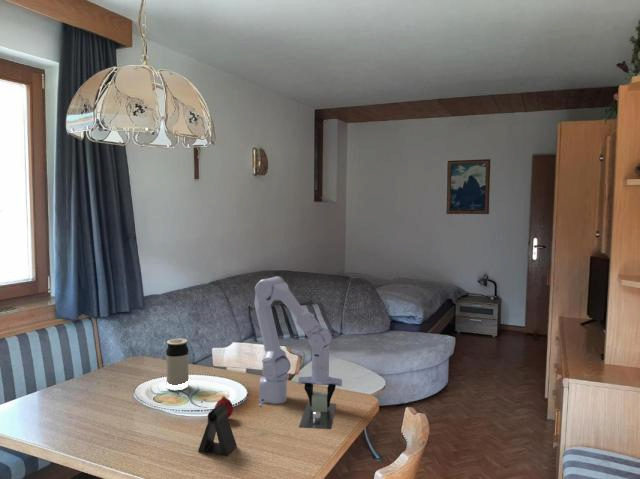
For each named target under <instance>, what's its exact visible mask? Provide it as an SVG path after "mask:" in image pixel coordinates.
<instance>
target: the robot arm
mask: <svg viewBox="0 0 640 479" xmlns="http://www.w3.org/2000/svg"><path fill="white" fill-rule="evenodd" d="M254 293H255V295H254V301H253V303H254V309H255V313H256V318H257V321H258V326H259V330H260V334H261V339H262V345H263V348H264V352H265V353H264V355H263V357H262V359H261V362H262V369H261V371H262V372H261V373H262V375H263V376H264V377H263V376H262V377H260V380H259V386H258V387H259V389H258V394H259V395H258V397H259V398H258V400H259V401H258V407H262V406H263V404H264V403H267V404H274V405H276V404H277V405H279V404H283V403H285V402H287V401H288V392H287V391H288V373H289V371H290V370H291V366H292V365H291V361H290V360H289V358H288V356H287V353H286V351H284V349H282V348H281V344H280V339H279V337H278V336H279V335H278V332H277V327H276V322H275V319H274V314H273V313H274V312H273V310H272V304H273V302H275V300H276V301H280V302H282V303H283V304H284V306H286V308H287V310H289V311H290V312H291V313H292V315H294V316H295V317H296V324H297V325H298V326H299V328H300V329H301V330H302V331H303V333H304V334H305V336H307V338H308V344H309V346H310V348H311V376H310V375H309V376H299V377H298V383H297V384H298V385H301V386H302V385H304V391H305V392H306V395H307V397H308V400H309V401H308V402H310V406H312V395H313V392H314V385H317V386H327V389H326V390H327V392H328V401H327V407H329V406H330V403H331V399H332V396H333V395H334V392H335V390H336V386H338V387H342V386H343V378H337V377H331V376H330V344H331V343H332V340H333V336H332V333H331V331H330V329H328V328H327V327H323V325H322V324H320V323H319V322H318V321H317V319H316V318H315V315H314V313H311V312H310V311H305V310H304V308H303V307H302V305H300V303H299V301H298V300H297V299H296V297H295V296H294V295H293V293H292V291H291V290H290V288H289V285H288V283H287V282H285V280H284V278H283V277H281V276H279V275H278V276H277V275H276V276H273V277H269V278H262V279H260V280H259V281H258V282H257V283H256V285H255V286H254Z"/></svg>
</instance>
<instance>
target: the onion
mask: <svg viewBox="0 0 640 479" xmlns="http://www.w3.org/2000/svg"><path fill="white" fill-rule="evenodd" d="M232 403H233V402H231V400H230V399H228V398H227V397H226V396H225V395H222V396H221V398H219V400H218V401H217V402H216V403H215V406H214V408H215V407H217V406H218V405H219V404H221V405H220V406H219V407H221V406H222V405H223V404H224V405H225V406H226V407H227V417H228V418H230V417H231V415H232V414H233V412H234V406H233V404H232ZM219 407H218V408H219Z"/></svg>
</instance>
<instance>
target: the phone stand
mask: <svg viewBox="0 0 640 479" xmlns="http://www.w3.org/2000/svg"><path fill="white" fill-rule="evenodd" d="M220 405H221V404H219V405H218V406H217V407H215V406H214V408H213V409H212V410H211V411H209V412H208V414H207V424H206V427H205V430H204V432H203V435H202V439H201V441H200V444H199V447H198V449H197V453H199V454H200V453H201V454H207V455H208V454H209V455H214V456H215V455H216V456H222V457H228V456H230V454H231V452H233V450H234V449H236V447H237V442H236V439H235V435H234V433H233V429H232V426H231V424H230V421H229V417H227V407H226V406H225V405H224V404H223V405H222V406H221V407H219V406H220ZM218 407H219V408H218ZM216 436H217V440H218V441H217V442H215V438H216Z"/></svg>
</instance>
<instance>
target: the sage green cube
mask: <svg viewBox="0 0 640 479" xmlns="http://www.w3.org/2000/svg"><path fill="white" fill-rule="evenodd" d="M327 401H328V391H322V390H321V391H319V390H317V391H316V390H313V395H312V411H316V410H317V411H320V412H327V409H328V407H327Z"/></svg>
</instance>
